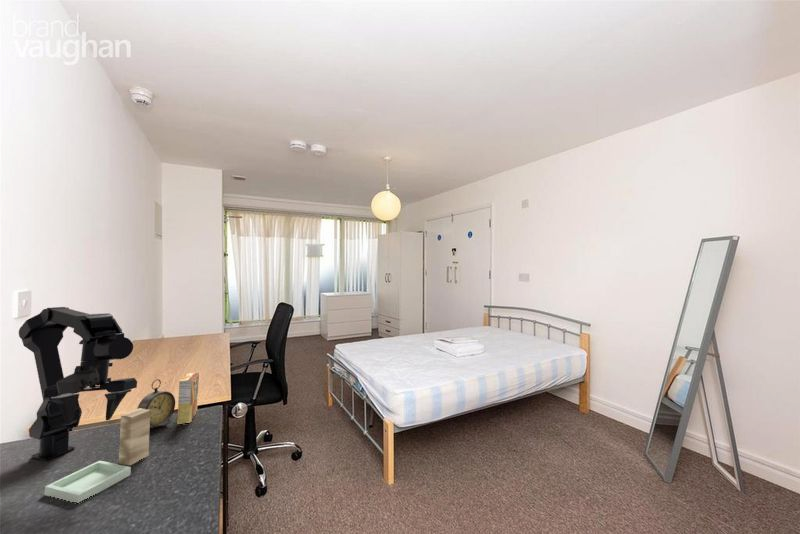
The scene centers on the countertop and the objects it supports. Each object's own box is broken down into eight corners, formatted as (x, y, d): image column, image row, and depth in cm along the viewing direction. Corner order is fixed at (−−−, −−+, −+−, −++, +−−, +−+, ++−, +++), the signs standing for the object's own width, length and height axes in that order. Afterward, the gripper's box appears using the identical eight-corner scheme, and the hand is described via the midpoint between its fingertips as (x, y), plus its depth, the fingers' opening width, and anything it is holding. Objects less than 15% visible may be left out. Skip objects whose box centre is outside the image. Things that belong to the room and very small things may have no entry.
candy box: (184, 415, 118) (186, 373, 118) (197, 413, 119) (199, 372, 120) (176, 425, 110) (178, 380, 110) (190, 424, 111) (192, 379, 111)
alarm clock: (145, 436, 102) (147, 385, 103) (131, 434, 103) (133, 384, 104) (175, 421, 113) (177, 375, 113) (163, 419, 114) (164, 374, 114)
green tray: (44, 495, 74) (45, 486, 74) (99, 468, 85) (99, 460, 85) (78, 504, 72) (78, 495, 72) (130, 475, 82) (130, 467, 82)
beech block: (118, 463, 87) (120, 415, 88) (137, 453, 92) (139, 408, 93) (129, 465, 86) (131, 417, 87) (148, 455, 91) (150, 409, 92)
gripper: (25, 366, 78) (15, 435, 75) (111, 360, 80) (104, 427, 77) (66, 362, 88) (59, 422, 86) (140, 356, 91) (135, 415, 88)
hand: (88, 421), depth 84 cm, fingers open, 9 cm apart
